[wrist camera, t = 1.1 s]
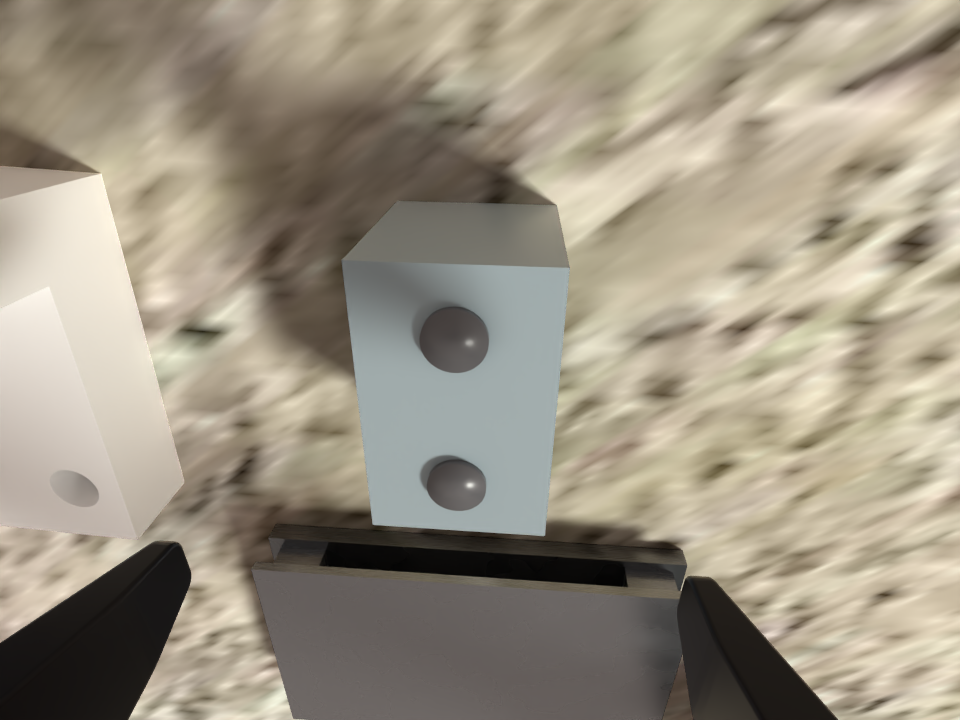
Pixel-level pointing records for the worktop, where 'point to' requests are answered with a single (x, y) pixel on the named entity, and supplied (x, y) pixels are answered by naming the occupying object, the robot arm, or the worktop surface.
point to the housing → (459, 362)
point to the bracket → (75, 367)
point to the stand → (469, 626)
